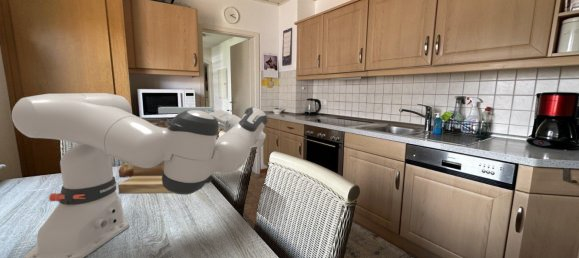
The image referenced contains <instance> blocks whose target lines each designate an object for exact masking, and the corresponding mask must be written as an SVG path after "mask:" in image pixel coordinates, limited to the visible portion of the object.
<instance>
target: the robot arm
mask: <svg viewBox="0 0 579 258" xmlns="http://www.w3.org/2000/svg"><path fill="white" fill-rule="evenodd" d="M132 110H133V109H132V106H131V104H130V102H129V100H127V98H126V97H124V96H122V95H118V94H114V93H106V92H83V93H81V92H80V93H78V92H77V93H75V92H74V93H45V94H38V95H31V96H26V97H22V98H20V99H19V100H17V102H16V103H15V105H14V106H13V108H12V110H11V120H12V122H13V125H14V127H15V128H16V129H17V130H18V131H19V132H20V133H21V134H22V135H24V136H26V137H27V138H33V139H49V140H58V141H64V142H69V143H75V146H72V147H71V148H70V149H68V150H67V151H66V152H65V153H64V154H63V155H62V156H61V158H60V161H59V165H60V172H61V178H62V186H61V190H60V192H58V193H53V192H52V193H50V194H49V196H48V200H49V201H50V202H58V205H57V206H56V207H55V209H53V211H52V212H51V214H50V215H49V216H48V218H47V219H46V220H45V222H44V223H43V224H42V225H41V227H40V228H39V229H38V232H37V237H36V241H37V242H36V243H37V244H36V246H34V247H33V248H32V249H31V250H30V251H28V252H27V253H26V254H25V255H24V258H85V257H86V256H89V255H90V254H92V252H94V251H95V250H97V249H98V248H100V247H101V246H103V245H104V244H106V243H107V242H109V241H111V240H112V239H113V238H115V237H116V236H117V235H119V234H120V233H122V232H123V231H125V230H127V229H128V228H129V227H130V224H129V222H128V221H127V220H126V218H125V214H124V209H123V205H122V201H121V199H120V197H119V196H118V194H117V192H116V190H117V181H116V178H115V176H114V172H113V158H114V159H116V160H118V161H120V162H123V163H128V164H130V165H134V166H137V167H142V168H151V167H154V166H157V165H159V164H160V163H161V162H163V161H164V160H165V164H164V170H163V171H162V184H163V186H164V187H165V188H166V189H167V190H168V191H170V192H172V193H171V194H176V195H180V196H181V195H182V196H183V195H184V196H185V195H186V196H188V195H192V194H193V193H196V192H197V191H199V190H201V189H202V188H203V187H204V186H205V185H206V184H210V183H211V182H212V181H213V177H212V175H213V173H214V174H215V173H221V174H230V173H233V172H235V171H238V170H239V169H240V168H242V166H243V165H244V164H245V163H246V162H247V160H248V159H249V157H250V154H251V150H252V148H254V147H257V148H256V149H260V148H261V147H262V146H263V145H264V143H265V141H266V138H267V135H266V133H265V132H264V131H263V130H264V128H265V127H266V125H267V124H268V120H269V118H268V116H267V113H266V112H265V111H263V110H262V109H260V108H258V107H256V106H255V107H254V106H252V107H249V108H246V109H245V111H244V114H243V116H242V117H240V116H238V115H236V114H234V113H233V114H232V113H229V112H227V111H225V110H223V109H218V110H215V109H213V112H209V111H207V110H206V109H205V108H202V109H201V111H199V110H191V111H184V112H182V113H177V114H176V115H175V116H174V117H173V118H168V120H167V122H166V123H167V124H168V125H169V126H170V127H168V128H162V127H158V126H155V125H153V124H151V123H149V122H148V121H146V120H144V119H142V118H141V117H140V116H137V115H135V114H133V111H132ZM219 129H223V132H224V133H223V134H222V135H221V136H219V137H218V138H217V136H218V134H219V131H220V130H219Z"/></svg>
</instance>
